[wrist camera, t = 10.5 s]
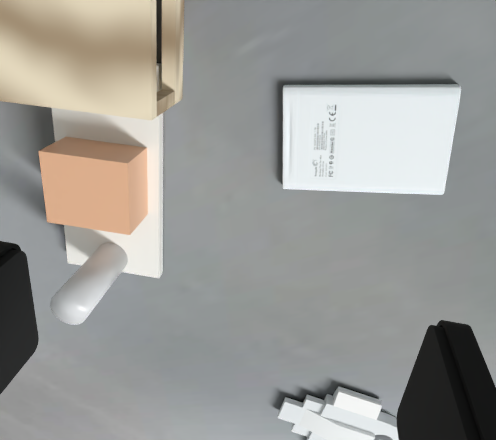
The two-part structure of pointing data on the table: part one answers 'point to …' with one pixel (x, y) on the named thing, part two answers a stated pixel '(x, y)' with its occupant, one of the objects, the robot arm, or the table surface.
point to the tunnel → (91, 55)
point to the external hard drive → (369, 137)
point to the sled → (104, 201)
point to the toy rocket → (339, 417)
